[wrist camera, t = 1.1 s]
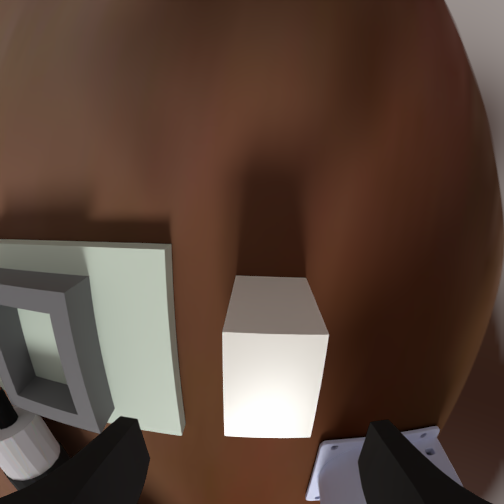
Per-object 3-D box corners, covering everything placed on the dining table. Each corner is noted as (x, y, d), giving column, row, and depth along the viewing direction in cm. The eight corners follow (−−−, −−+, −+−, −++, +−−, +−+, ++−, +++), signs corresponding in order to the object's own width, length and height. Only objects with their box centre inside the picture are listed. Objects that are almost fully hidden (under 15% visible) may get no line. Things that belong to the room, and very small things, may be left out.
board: (171, 243, 16) (146, 264, 12) (185, 423, 19) (174, 464, 15) (-29, 238, 16) (-64, 250, 12) (6, 380, 19) (-17, 404, 15)
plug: (305, 277, 16) (328, 334, 10) (297, 361, 17) (310, 437, 11) (235, 275, 16) (222, 332, 10) (234, 359, 17) (224, 435, 11)
